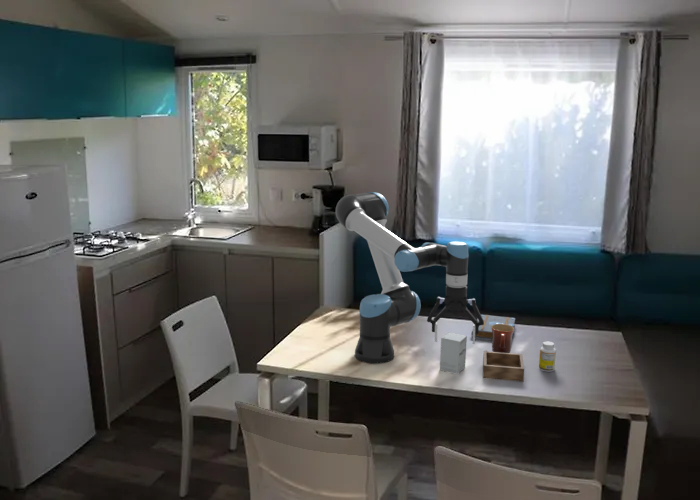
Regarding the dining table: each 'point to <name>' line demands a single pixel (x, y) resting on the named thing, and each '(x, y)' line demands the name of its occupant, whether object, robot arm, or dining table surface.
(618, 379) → the dining table surface
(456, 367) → the supplement box
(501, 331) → the mug
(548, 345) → the supplement bottle
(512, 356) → the tray
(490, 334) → the book
